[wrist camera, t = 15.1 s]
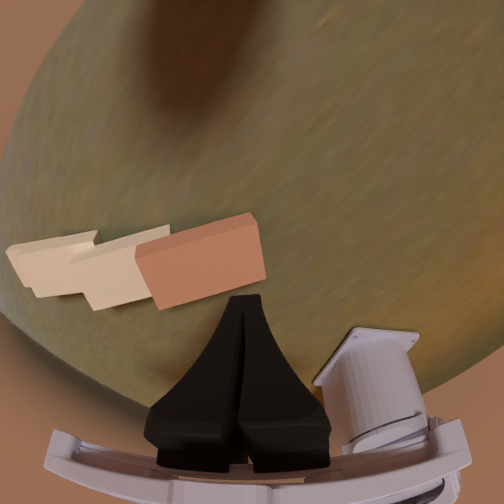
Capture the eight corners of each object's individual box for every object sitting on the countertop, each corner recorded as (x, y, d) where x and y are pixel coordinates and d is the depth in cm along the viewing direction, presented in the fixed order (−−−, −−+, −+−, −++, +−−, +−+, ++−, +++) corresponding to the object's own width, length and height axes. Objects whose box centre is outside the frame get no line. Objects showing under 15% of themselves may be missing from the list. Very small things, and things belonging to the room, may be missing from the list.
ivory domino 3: (170, 235, 16) (68, 265, 15) (187, 287, 19) (93, 311, 17) (169, 224, 17) (73, 252, 16) (185, 273, 20) (96, 297, 19)
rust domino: (257, 222, 16) (134, 259, 15) (266, 278, 18) (159, 310, 17) (249, 212, 17) (136, 245, 16) (259, 265, 19) (158, 295, 18)
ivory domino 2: (92, 240, 16) (15, 255, 15) (110, 288, 19) (36, 297, 18) (98, 229, 18) (23, 245, 17) (113, 276, 20) (42, 285, 19)
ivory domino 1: (54, 243, 17) (5, 251, 18) (75, 285, 20) (24, 287, 20) (64, 232, 19) (14, 242, 19) (83, 273, 21) (32, 277, 21)
